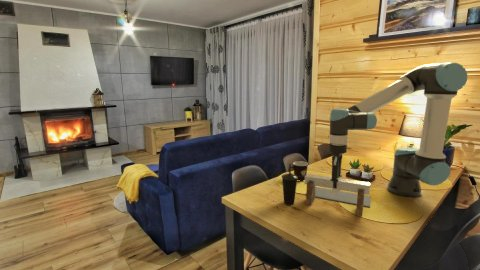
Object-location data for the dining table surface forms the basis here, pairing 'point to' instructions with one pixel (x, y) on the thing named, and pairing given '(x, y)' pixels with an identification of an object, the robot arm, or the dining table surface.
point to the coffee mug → (300, 169)
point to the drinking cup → (289, 187)
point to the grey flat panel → (340, 196)
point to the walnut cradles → (311, 197)
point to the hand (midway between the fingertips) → (335, 192)
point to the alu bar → (343, 183)
